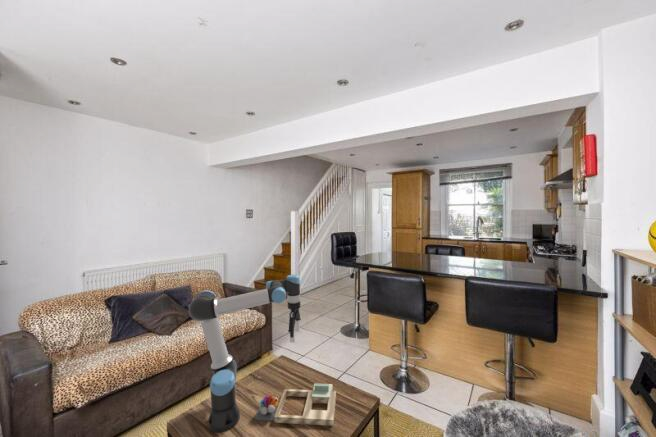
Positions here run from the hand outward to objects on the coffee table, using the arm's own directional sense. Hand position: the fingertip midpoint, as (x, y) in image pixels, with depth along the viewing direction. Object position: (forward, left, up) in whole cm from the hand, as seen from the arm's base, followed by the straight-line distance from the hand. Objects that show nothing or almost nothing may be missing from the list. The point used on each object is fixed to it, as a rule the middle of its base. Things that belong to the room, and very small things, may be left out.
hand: (295, 336), depth 163 cm
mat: (-11, -20, -32) cm, 39 cm away
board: (+9, -13, -32) cm, 35 cm away
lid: (+16, -6, -28) cm, 33 cm away
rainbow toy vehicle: (-10, -20, -30) cm, 37 cm away
